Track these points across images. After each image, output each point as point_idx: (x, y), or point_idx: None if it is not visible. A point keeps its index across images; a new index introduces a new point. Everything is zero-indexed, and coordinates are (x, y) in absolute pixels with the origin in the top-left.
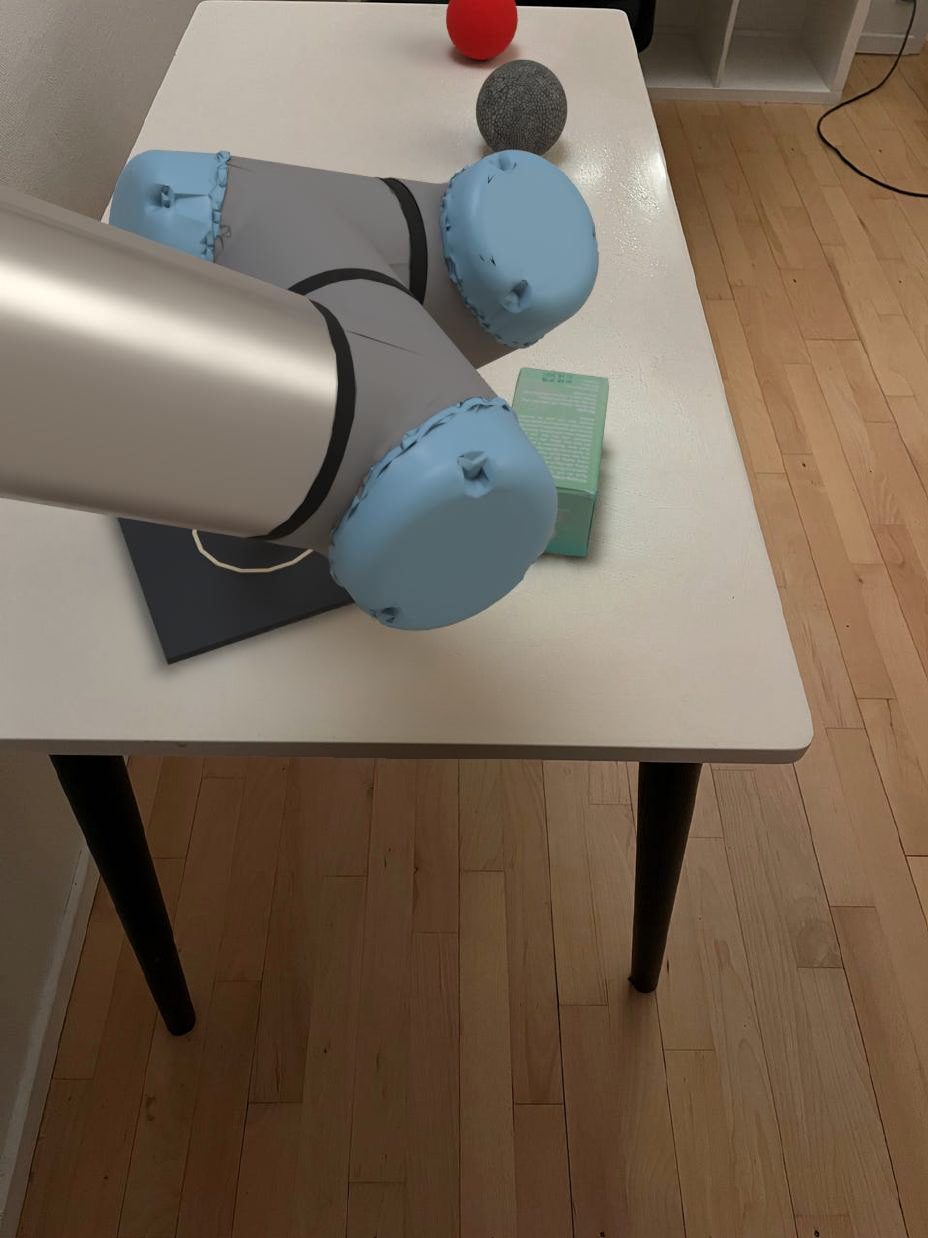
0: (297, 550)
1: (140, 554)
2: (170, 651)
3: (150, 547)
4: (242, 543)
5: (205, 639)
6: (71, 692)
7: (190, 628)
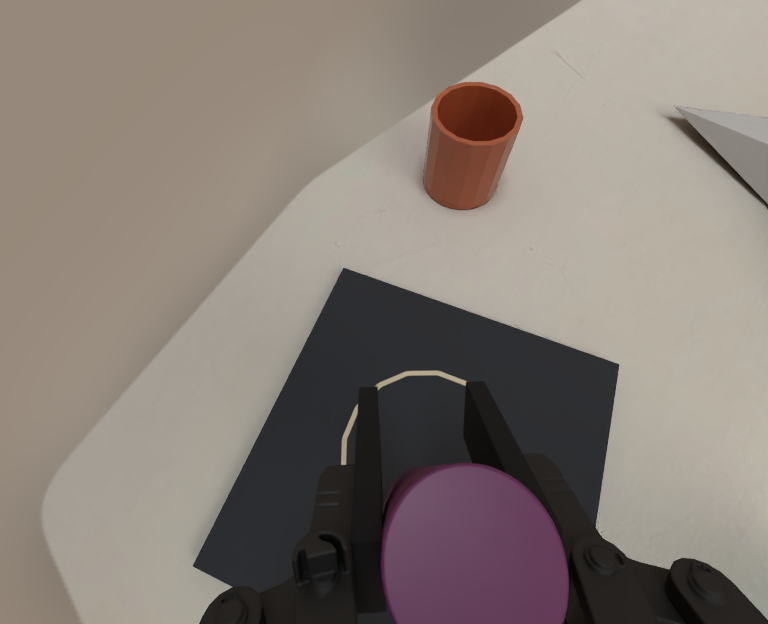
0: None
1: (293, 389)
2: (204, 558)
3: (307, 389)
4: (388, 467)
5: (245, 578)
6: (104, 506)
7: (247, 544)
